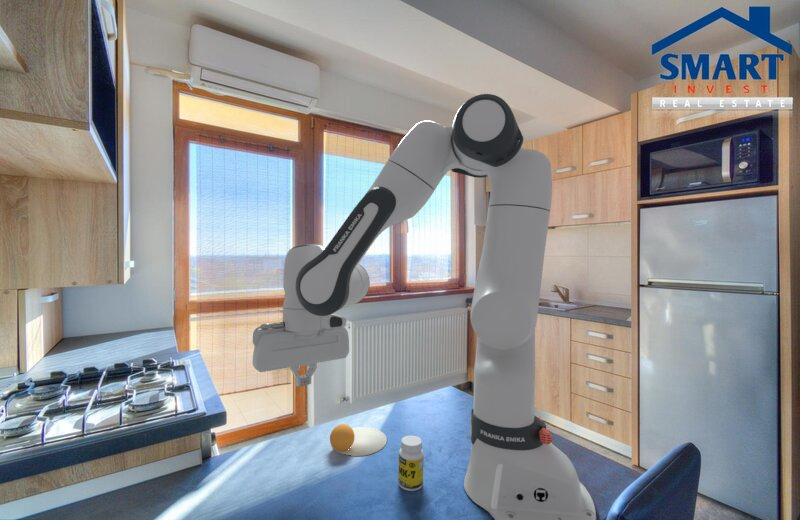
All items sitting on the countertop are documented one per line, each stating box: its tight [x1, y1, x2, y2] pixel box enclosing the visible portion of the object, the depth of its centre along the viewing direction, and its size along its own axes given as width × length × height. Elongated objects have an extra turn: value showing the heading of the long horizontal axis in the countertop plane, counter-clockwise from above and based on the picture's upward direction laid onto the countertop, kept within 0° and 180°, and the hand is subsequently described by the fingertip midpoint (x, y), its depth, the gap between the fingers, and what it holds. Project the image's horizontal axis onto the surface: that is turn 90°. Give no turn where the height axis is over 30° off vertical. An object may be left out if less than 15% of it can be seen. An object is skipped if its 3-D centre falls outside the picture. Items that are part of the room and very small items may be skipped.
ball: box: [329, 423, 354, 452], centre depth 79 cm, size 6×6×6 cm
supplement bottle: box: [397, 435, 425, 492], centre depth 67 cm, size 5×5×8 cm
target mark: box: [335, 426, 388, 457], centre depth 82 cm, size 13×13×1 cm
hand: (303, 384), depth 74 cm, fingers closed
